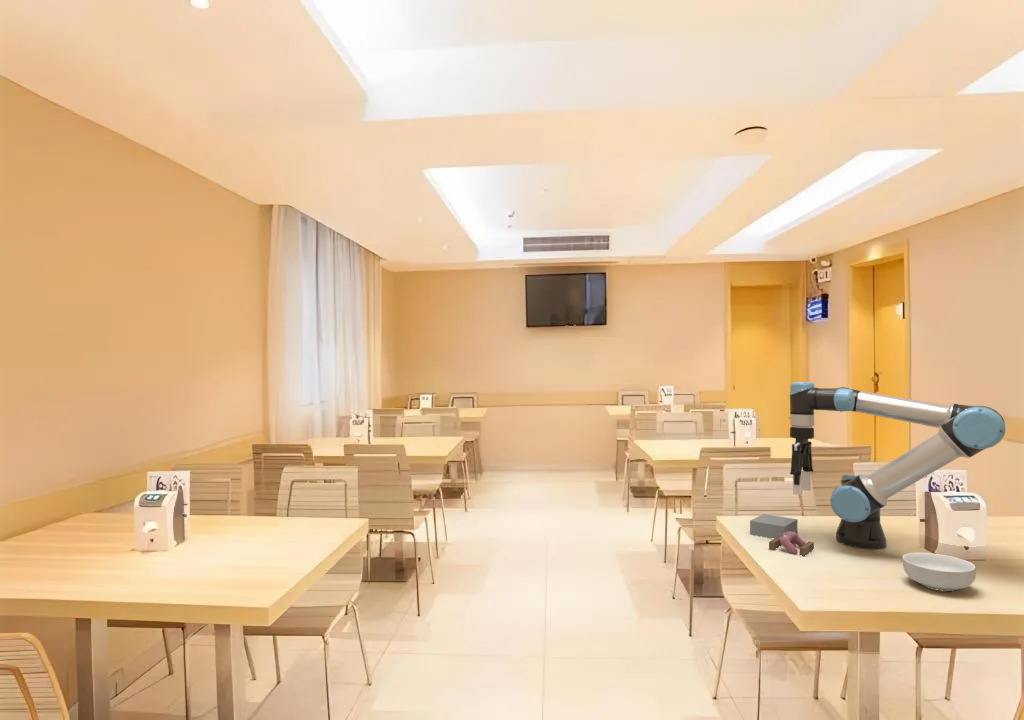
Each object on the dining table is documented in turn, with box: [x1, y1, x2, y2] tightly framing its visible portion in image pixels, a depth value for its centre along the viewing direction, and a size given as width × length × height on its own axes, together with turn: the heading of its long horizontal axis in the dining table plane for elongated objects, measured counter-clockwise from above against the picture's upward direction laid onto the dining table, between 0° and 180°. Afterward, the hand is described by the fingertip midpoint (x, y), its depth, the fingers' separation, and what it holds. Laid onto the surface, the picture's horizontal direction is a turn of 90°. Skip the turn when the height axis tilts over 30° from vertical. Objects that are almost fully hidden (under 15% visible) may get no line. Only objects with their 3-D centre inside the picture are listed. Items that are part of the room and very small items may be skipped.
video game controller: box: [780, 531, 807, 555], centre depth 201 cm, size 10×5×7 cm, turn 135°
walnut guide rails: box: [768, 536, 815, 557], centre depth 201 cm, size 11×10×2 cm
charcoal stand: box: [749, 513, 799, 539], centre depth 220 cm, size 12×14×5 cm
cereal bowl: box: [901, 552, 977, 592], centre depth 168 cm, size 17×17×7 cm
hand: (801, 492), depth 210 cm, fingers open, 9 cm apart
